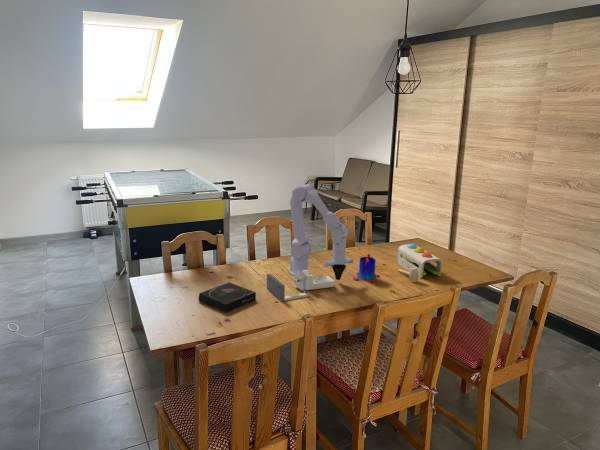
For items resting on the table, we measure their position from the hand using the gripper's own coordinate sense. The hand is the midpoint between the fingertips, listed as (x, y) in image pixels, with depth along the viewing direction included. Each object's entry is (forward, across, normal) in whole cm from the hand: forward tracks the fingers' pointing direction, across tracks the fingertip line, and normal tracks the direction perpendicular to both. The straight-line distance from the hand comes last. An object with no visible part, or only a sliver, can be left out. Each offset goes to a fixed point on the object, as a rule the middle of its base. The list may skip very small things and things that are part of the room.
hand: (337, 279), depth 213 cm
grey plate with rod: (+2, -26, 0) cm, 26 cm away
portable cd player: (+3, -53, +3) cm, 53 cm away
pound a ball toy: (+2, +44, -3) cm, 44 cm away
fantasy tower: (+2, +16, 0) cm, 16 cm away
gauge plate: (+1, -21, -1) cm, 21 cm away
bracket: (+2, -11, 0) cm, 11 cm away
